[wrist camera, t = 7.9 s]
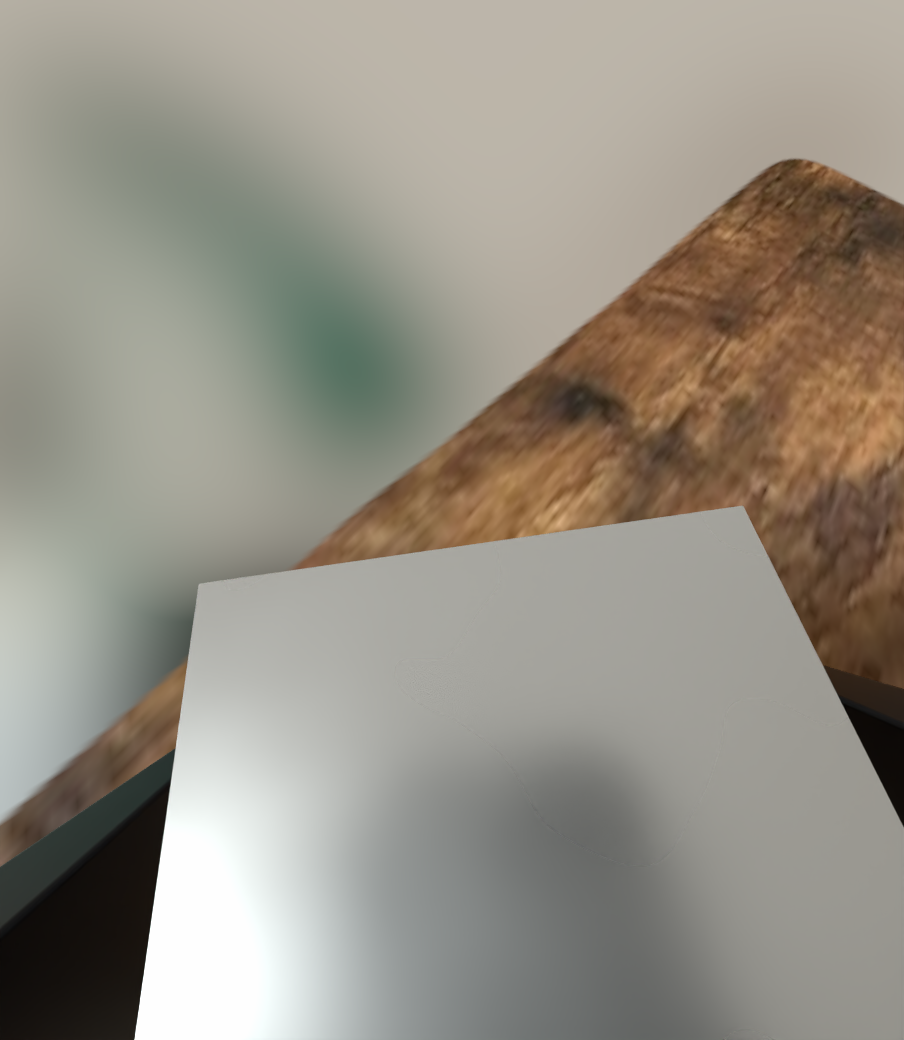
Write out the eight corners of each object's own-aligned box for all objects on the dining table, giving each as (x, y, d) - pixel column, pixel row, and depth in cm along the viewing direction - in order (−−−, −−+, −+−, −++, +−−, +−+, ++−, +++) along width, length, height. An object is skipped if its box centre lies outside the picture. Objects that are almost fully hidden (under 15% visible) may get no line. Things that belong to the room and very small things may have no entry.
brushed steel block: (600, 884, 14) (1069, 1159, 3) (417, 912, 14) (98, 1306, 3) (564, 723, 16) (736, 492, 5) (405, 746, 16) (201, 569, 5)
